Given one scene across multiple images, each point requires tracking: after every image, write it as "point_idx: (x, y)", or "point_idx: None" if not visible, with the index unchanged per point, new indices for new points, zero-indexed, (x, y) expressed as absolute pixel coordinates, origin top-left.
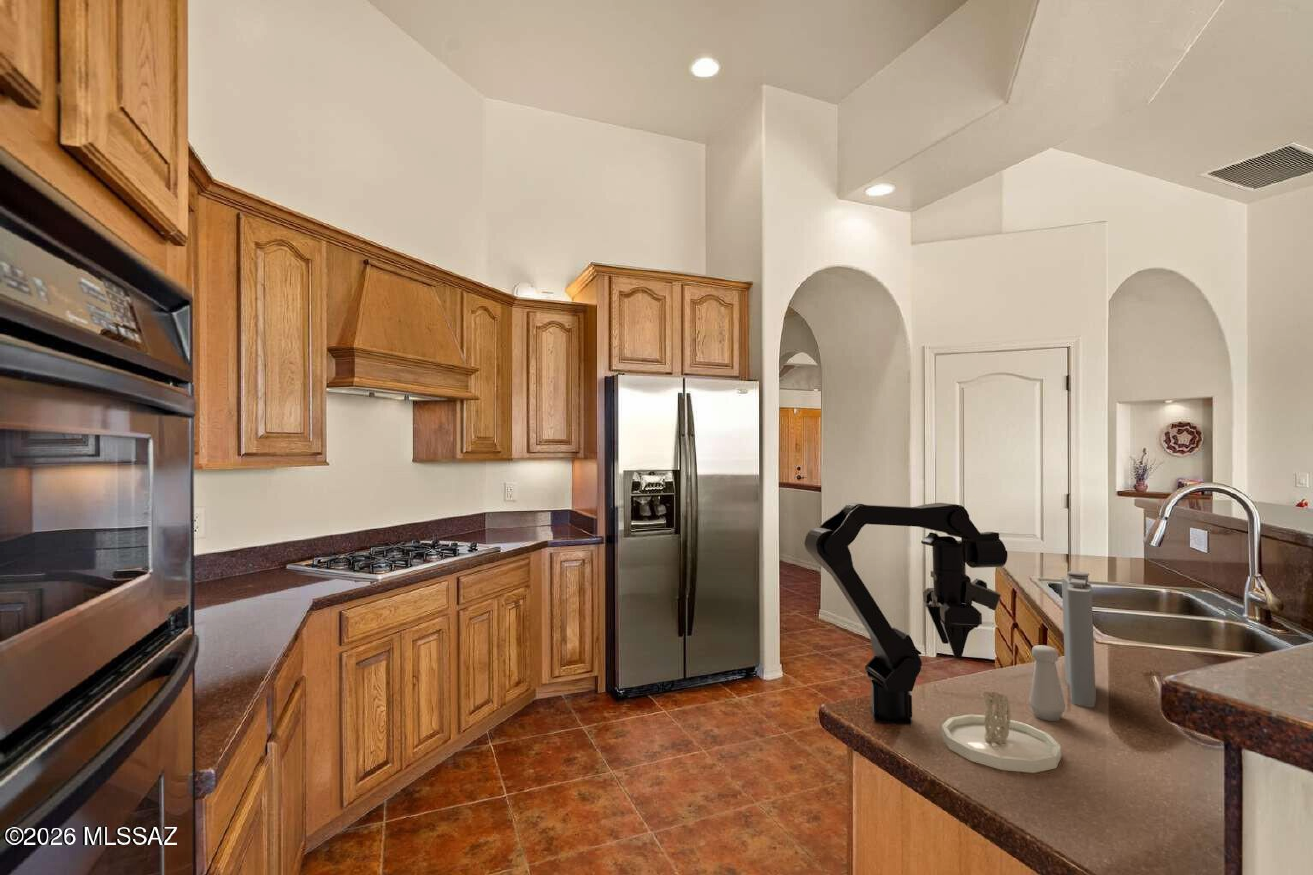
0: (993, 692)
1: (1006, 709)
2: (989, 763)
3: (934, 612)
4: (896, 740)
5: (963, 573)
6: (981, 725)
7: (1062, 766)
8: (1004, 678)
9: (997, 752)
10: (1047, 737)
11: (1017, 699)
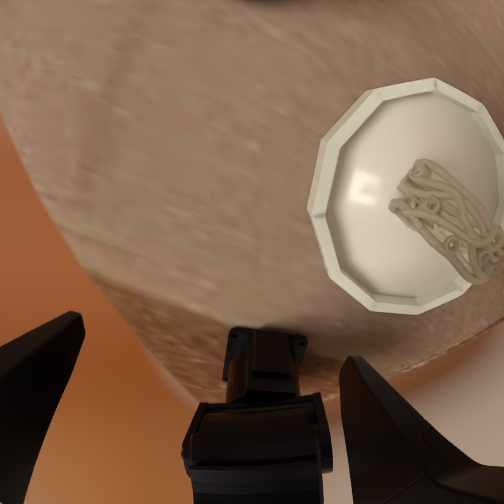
0: (475, 247)
1: (426, 168)
2: None
3: (15, 480)
4: None
5: None
6: (337, 192)
7: None
8: (6, 20)
9: None
10: (450, 96)
11: (120, 5)
